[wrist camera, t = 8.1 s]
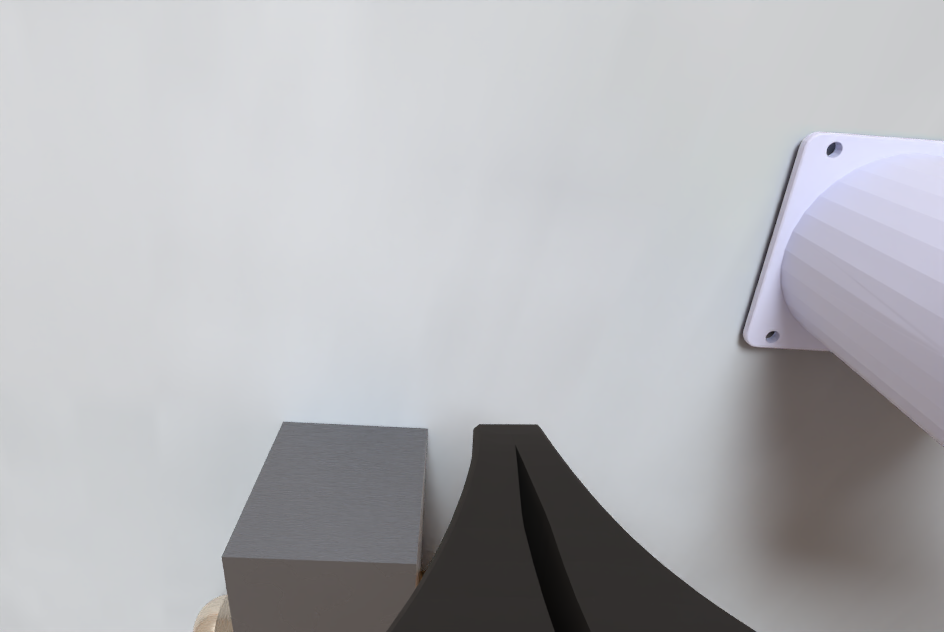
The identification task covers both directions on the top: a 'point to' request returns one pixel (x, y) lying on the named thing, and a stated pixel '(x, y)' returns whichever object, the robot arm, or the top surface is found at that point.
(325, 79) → the top surface
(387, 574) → the block
